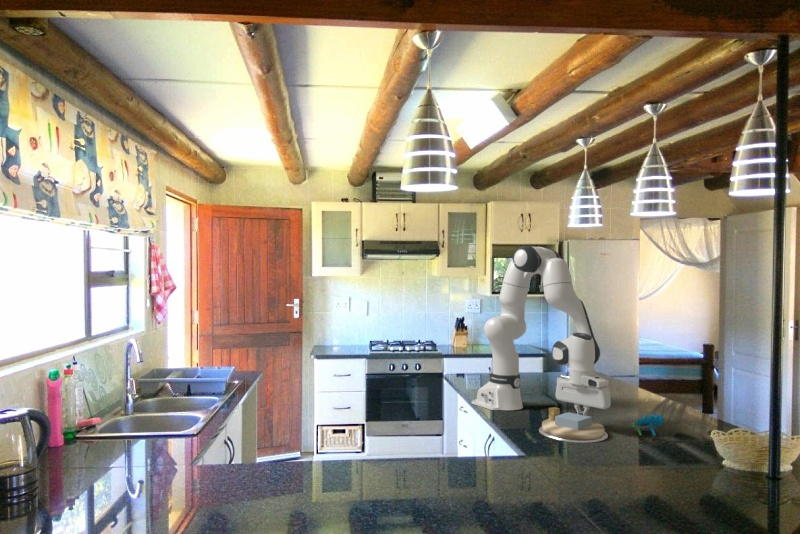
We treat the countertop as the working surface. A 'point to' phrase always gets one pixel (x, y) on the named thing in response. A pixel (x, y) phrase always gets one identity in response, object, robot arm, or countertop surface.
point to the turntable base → (573, 439)
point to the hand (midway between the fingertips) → (582, 416)
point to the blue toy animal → (648, 423)
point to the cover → (573, 421)
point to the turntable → (568, 433)
